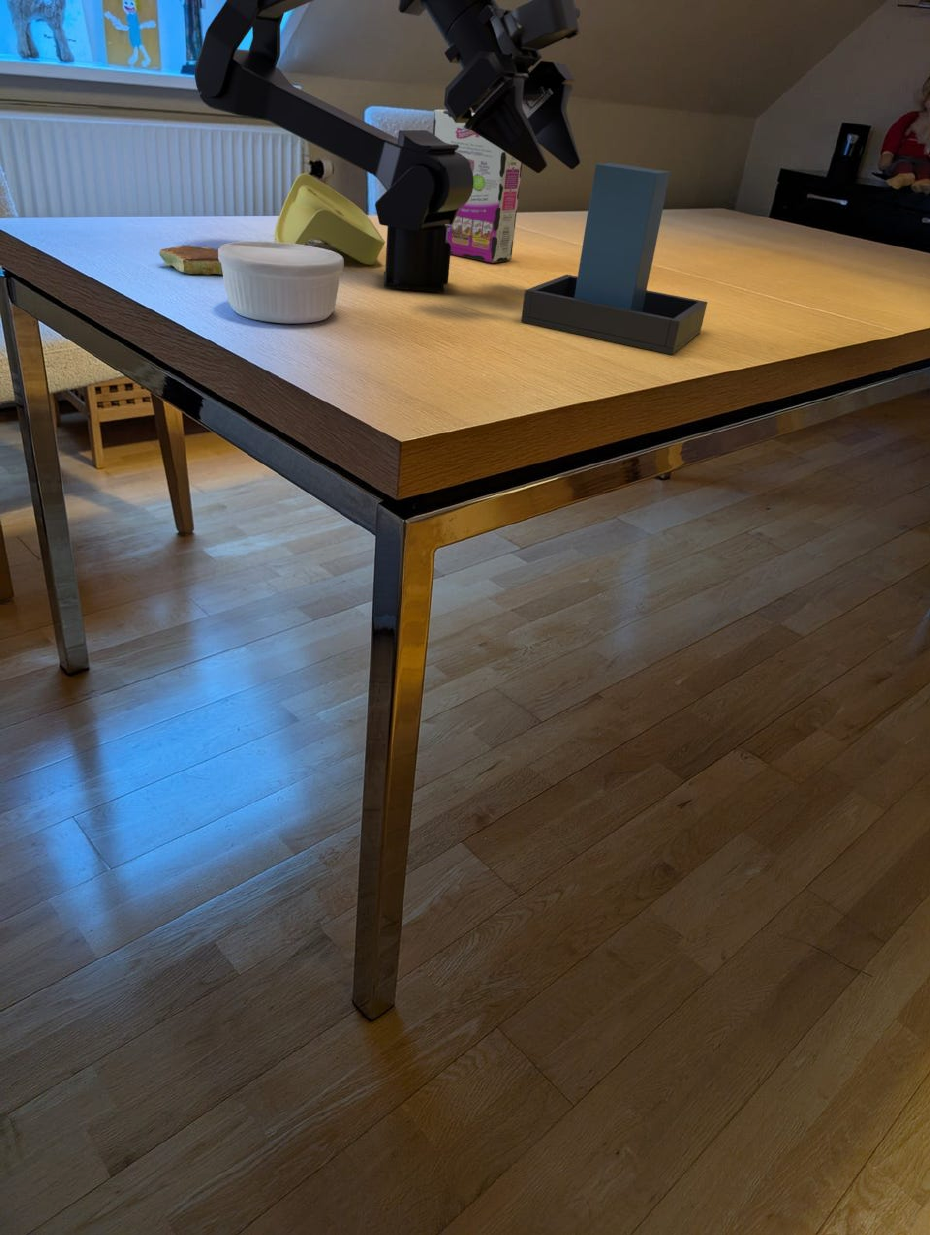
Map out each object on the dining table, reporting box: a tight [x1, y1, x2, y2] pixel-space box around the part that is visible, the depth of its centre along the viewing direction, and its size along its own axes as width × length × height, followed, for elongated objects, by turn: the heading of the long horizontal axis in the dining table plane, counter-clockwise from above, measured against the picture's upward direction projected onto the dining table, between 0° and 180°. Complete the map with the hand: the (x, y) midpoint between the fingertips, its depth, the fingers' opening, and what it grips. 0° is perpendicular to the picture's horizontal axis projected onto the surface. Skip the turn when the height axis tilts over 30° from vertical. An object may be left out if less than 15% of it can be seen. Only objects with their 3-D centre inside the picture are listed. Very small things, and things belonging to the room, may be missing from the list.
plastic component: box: [274, 172, 386, 266], centre depth 109 cm, size 20×7×10 cm
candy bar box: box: [432, 109, 523, 264], centre depth 113 cm, size 11×5×16 cm, turn 56°
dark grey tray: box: [520, 274, 708, 356], centre depth 89 cm, size 16×12×3 cm
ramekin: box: [217, 240, 345, 325], centre depth 80 cm, size 11×11×5 cm
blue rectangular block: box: [574, 162, 671, 312], centre depth 86 cm, size 6×4×14 cm
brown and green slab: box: [158, 245, 223, 276], centre depth 93 cm, size 11×8×2 cm
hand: (560, 168), depth 85 cm, fingers open, 9 cm apart
